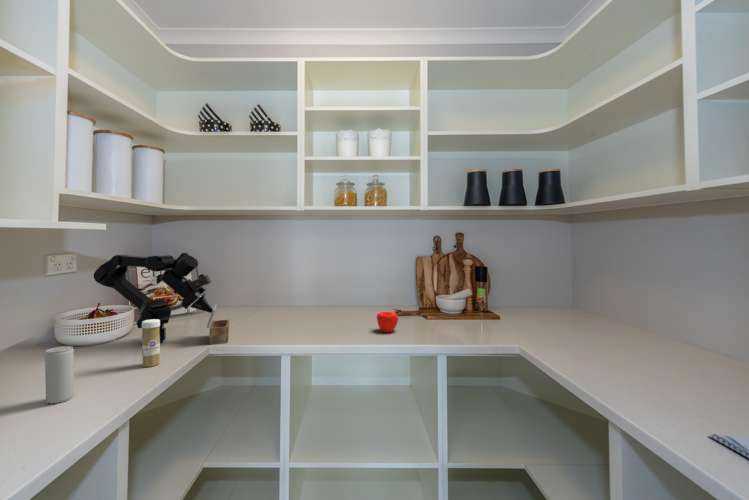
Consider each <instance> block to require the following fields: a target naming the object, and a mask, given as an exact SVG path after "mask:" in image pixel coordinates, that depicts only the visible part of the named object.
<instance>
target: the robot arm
mask: <svg viewBox="0 0 749 500" xmlns="http://www.w3.org/2000/svg"><path fill="white" fill-rule="evenodd" d="M198 266H199V261H198V260H197V259H196V258H195V257H193V256H192V255H190V254H189V253H188V252H182V253H181V254H180V255H179V256H178V257H177V258H174V257H173V255H172V254H171V255H169V254H168V255H167V254H166V255H152V256H141V255H128V254H115V255H113V256H111V258H110V260H108V261H106V262H104V263H103V264H100V265H99V267H97V269H95V271H94V273H93V278H94V281H95V282H96V283H97V284H100V285H101V286H103V287H108V288H111V289H114V290H115V291H116V292H118V294H120V295H121V296H122V297H124V298H125V299H126V300H127V301H128V302H130V303H131V304H133V305H134V306H135V307H136V308H137V309H138V310H139V314H140V318H139V319H138V320H137V321H136V326H137V328H138V329H142V321H145V320H150V319H159V320H160V327H159V335H160V344H162V343H164V341H165V340H166V338H167V328H166V327H165V324H168V323H169V321H170V318H171V315H172V309H171V307H170V306H169V303H167V302H166V301H164V300H163V299H162V298H156V299H151V298H150V297H149V296H148V295H146V294H145V293H144V292H143V291H141V290H140V289H139V288H138V287H137V286H135V285H134V284H133V283H132V282H131V281H129V280H128V279H127V276H126V275H127V274H126V273H127V272H128V269H129V268H128V267H134V268H135V267H137V268H138V267H139V268H145V269H147V270H149V271H151V272H162V274H161V273H159V274H158V275H157V276H155V278H156V284H157V285H159V284H160V283H162V282H163V283H164V284H165V285H167V286H168V287H170V289H171V290H173V293H174V294H177V295H179V296H180V297H181V298H182V301H181V307H183V308H184V309H185V310H186V309H188V308H193V309H197V310H200V311H204V312H206V313H210V314H211V313H212V310H213V307H212V306H211V305H210V304H209V302H208V300H207V299H206V291H207V289H206V288H205V287H204V286H206V285H209V284H211V283H212V281H211V279H210V278H211V277H210V276H209V275H208V274H206V275H205V274H204V273H202V274H200V275H198V277H197V279H194V280H192V279H190V278H188V279H187V278H186V277H187V276H188V275H190V273H192V272H193V271H194V270H195V269H196V268H197V267H198ZM140 346H142V342H141V343H140Z"/></svg>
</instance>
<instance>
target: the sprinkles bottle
mask: <svg viewBox="0 0 749 500" xmlns="http://www.w3.org/2000/svg"><path fill="white" fill-rule="evenodd" d="M159 327H160V320H159V319H150V320H145V321H142V328H141V331H142V332H141V343H142V345H141V351H142V352H141V355H142V367H144V368H149V367H151V368H152V367H155V366H158V365H159V364H161V361H160V358H161V357H160V353H161V343H160V335H159Z"/></svg>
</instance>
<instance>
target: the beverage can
mask: <svg viewBox="0 0 749 500" xmlns="http://www.w3.org/2000/svg"><path fill="white" fill-rule="evenodd" d="M73 347H74V346H72V345H63V346H62V345H61V346H57V347H52V348H49V349H46V350H45V354H44V371H45V372H44V374H45V402H46V403H47V404H48V403H58V404H60V403H59V402H62V403H64V402H63V401H65V402H67V401H69V399H70V400H71V399H72V398H73V397H74V396H75V353H74V352H75V349H74V348H73ZM66 400H67V401H66Z"/></svg>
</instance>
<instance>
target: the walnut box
mask: <svg viewBox="0 0 749 500" xmlns="http://www.w3.org/2000/svg"><path fill="white" fill-rule="evenodd" d="M229 337H230V319H220V320H219V319H218V320H211V323H210V326H209V345H220V344H228V343H229Z"/></svg>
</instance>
